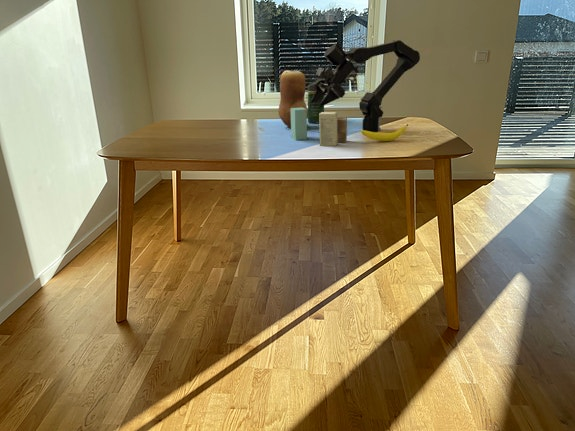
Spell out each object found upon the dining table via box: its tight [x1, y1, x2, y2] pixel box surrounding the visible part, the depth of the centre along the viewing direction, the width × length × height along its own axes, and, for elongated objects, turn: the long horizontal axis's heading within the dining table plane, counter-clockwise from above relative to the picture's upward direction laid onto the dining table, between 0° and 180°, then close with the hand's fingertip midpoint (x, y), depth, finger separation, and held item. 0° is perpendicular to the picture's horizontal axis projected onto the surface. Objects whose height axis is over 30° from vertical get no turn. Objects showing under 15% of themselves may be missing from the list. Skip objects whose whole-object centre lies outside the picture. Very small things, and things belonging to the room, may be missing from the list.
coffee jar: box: [307, 81, 325, 124], centre depth 201 cm, size 10×8×19 cm
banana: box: [359, 124, 409, 142], centre depth 163 cm, size 3×19×6 cm, turn 96°
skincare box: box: [318, 111, 338, 147], centre depth 160 cm, size 6×4×12 cm
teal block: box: [290, 107, 308, 141], centre depth 171 cm, size 5×5×12 cm
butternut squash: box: [278, 69, 308, 129], centre depth 190 cm, size 14×13×25 cm
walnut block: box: [337, 117, 348, 144], centre depth 164 cm, size 4×4×9 cm
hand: (315, 104), depth 171 cm, fingers open, 9 cm apart
